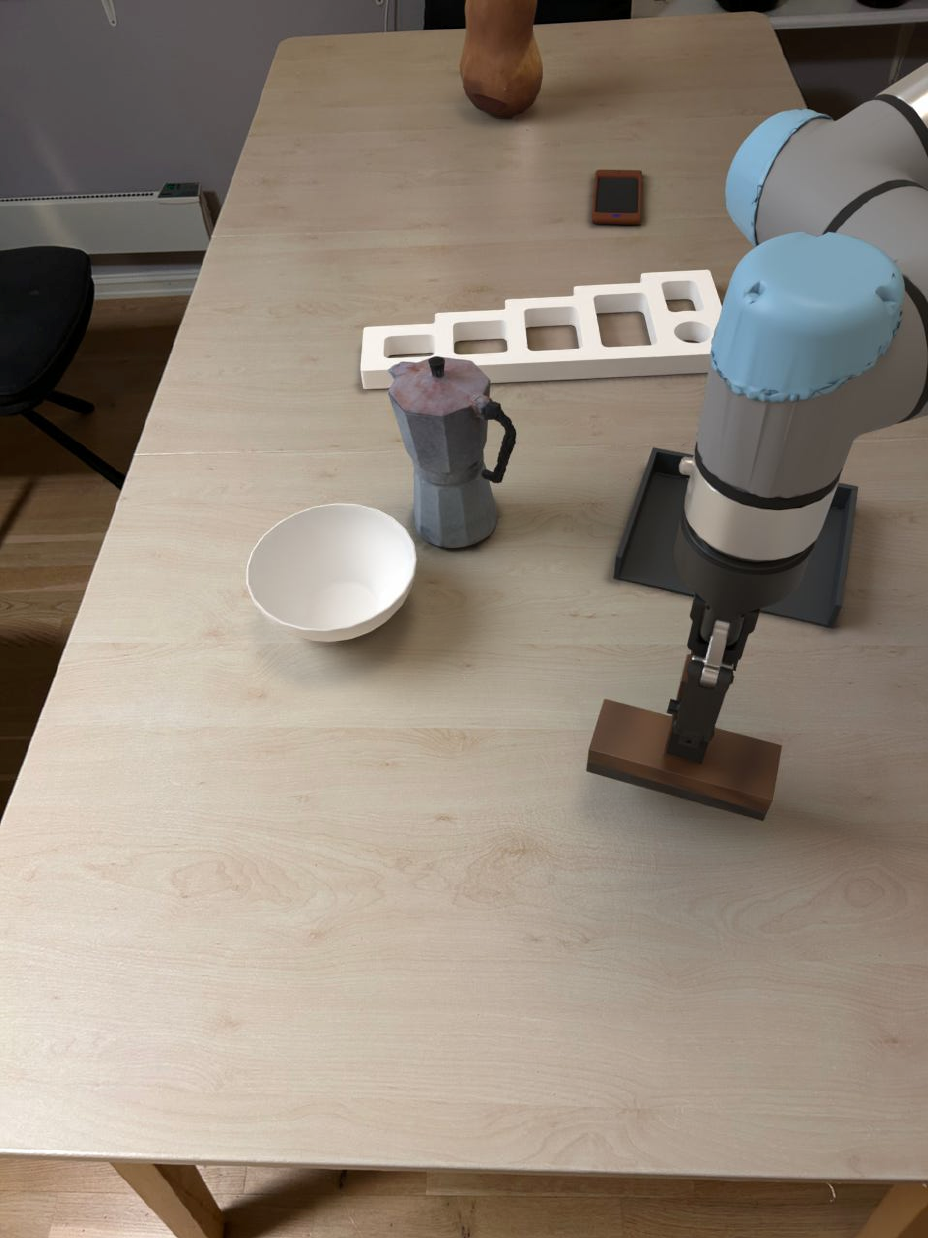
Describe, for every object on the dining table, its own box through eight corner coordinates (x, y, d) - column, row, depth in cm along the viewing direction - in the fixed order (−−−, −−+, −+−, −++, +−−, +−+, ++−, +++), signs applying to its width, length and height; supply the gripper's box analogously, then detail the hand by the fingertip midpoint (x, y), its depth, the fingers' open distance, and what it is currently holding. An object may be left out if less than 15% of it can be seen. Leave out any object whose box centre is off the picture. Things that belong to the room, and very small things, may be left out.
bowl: (441, 651, 89) (436, 604, 83) (275, 695, 86) (259, 650, 81) (400, 535, 98) (393, 487, 93) (250, 572, 96) (234, 524, 91)
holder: (362, 389, 114) (360, 370, 112) (369, 305, 125) (366, 286, 123) (733, 371, 113) (737, 352, 111) (706, 288, 124) (709, 269, 122)
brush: (772, 767, 74) (815, 669, 64) (763, 822, 71) (806, 728, 61) (601, 721, 78) (614, 620, 67) (585, 772, 75) (597, 674, 64)
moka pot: (428, 469, 105) (412, 312, 89) (545, 522, 99) (550, 364, 83) (375, 520, 100) (348, 364, 84) (494, 579, 94) (489, 423, 78)
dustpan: (832, 628, 88) (842, 606, 86) (613, 578, 93) (615, 556, 91) (858, 446, 104) (867, 423, 101) (668, 412, 109) (672, 389, 106)
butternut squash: (548, 97, 162) (552, -76, 143) (534, 132, 154) (536, -46, 135) (470, 93, 165) (464, -77, 145) (453, 127, 157) (444, -48, 137)
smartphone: (591, 218, 134) (595, 168, 144) (591, 224, 135) (595, 174, 144) (641, 219, 134) (642, 168, 143) (640, 225, 134) (641, 174, 144)
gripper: (707, 420, 58) (661, 647, 76) (653, 603, 49) (615, 811, 67) (833, 443, 56) (754, 670, 74) (801, 638, 47) (720, 842, 65)
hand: (688, 737), depth 71 cm, fingers closed on brush, 2 cm apart
